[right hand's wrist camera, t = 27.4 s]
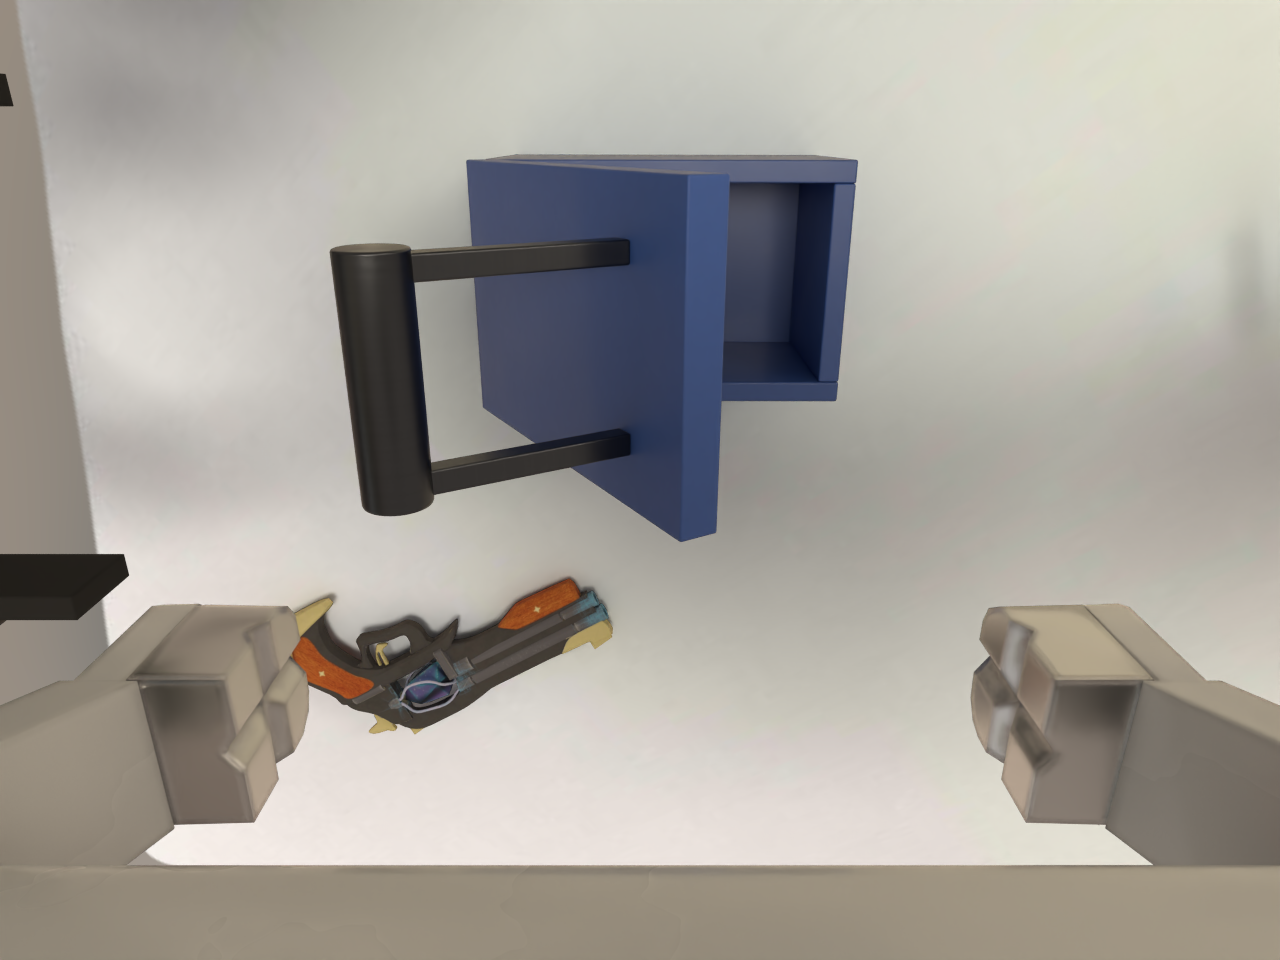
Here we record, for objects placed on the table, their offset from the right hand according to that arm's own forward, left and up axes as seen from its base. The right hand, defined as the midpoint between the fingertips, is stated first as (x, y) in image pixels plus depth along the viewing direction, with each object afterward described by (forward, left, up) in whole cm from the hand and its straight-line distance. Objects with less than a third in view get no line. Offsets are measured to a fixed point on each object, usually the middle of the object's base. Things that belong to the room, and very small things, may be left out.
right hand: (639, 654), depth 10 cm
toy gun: (-12, +21, -36) cm, 44 cm away
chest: (-1, -1, -36) cm, 36 cm away
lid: (+1, +1, -20) cm, 21 cm away
